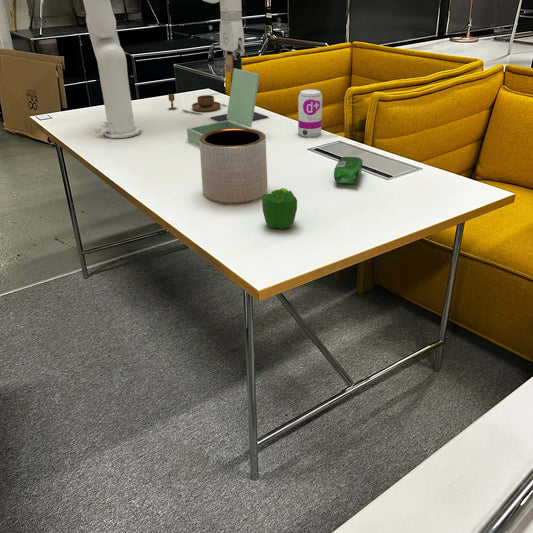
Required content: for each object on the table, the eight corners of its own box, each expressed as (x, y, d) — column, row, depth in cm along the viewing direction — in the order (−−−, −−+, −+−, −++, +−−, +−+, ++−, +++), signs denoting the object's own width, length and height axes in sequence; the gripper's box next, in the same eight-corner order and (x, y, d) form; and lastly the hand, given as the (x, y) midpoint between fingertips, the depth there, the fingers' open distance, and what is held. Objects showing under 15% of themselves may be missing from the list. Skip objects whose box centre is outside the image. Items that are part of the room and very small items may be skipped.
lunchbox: (209, 152, 184) (208, 138, 182) (188, 142, 194) (186, 128, 192) (250, 142, 192) (250, 128, 190) (228, 133, 203) (227, 120, 200)
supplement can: (321, 137, 196) (323, 94, 188) (298, 137, 196) (298, 94, 188) (320, 131, 203) (321, 88, 195) (297, 131, 203) (298, 89, 195)
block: (232, 73, 205) (231, 56, 202) (225, 71, 208) (225, 54, 205) (242, 71, 207) (241, 54, 204) (235, 70, 210) (235, 53, 207)
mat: (229, 125, 211) (229, 124, 211) (210, 118, 221) (210, 117, 221) (267, 117, 220) (267, 116, 220) (247, 110, 230) (247, 109, 230)
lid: (258, 74, 183) (260, 74, 184) (233, 68, 194) (235, 68, 194) (249, 127, 190) (251, 127, 190) (226, 118, 200) (228, 118, 200)
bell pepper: (259, 220, 137) (258, 181, 132) (291, 216, 139) (291, 178, 134) (267, 234, 130) (266, 194, 125) (300, 230, 132) (301, 191, 127)
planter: (244, 210, 142) (241, 151, 135) (189, 197, 151) (184, 140, 143) (279, 188, 155) (279, 132, 148) (227, 177, 164) (224, 124, 156)
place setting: (204, 115, 225) (203, 100, 222) (167, 109, 235) (165, 95, 232) (229, 106, 238) (229, 91, 235) (193, 100, 247) (192, 87, 244)
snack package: (330, 188, 155) (331, 170, 152) (339, 169, 168) (340, 152, 165) (356, 190, 153) (357, 172, 150) (363, 170, 166) (364, 154, 163)
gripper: (210, 15, 202) (213, 68, 211) (235, 19, 190) (237, 74, 200) (227, 14, 206) (230, 65, 215) (253, 17, 194) (255, 72, 203)
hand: (233, 69), depth 207 cm, fingers closed on block, 4 cm apart
